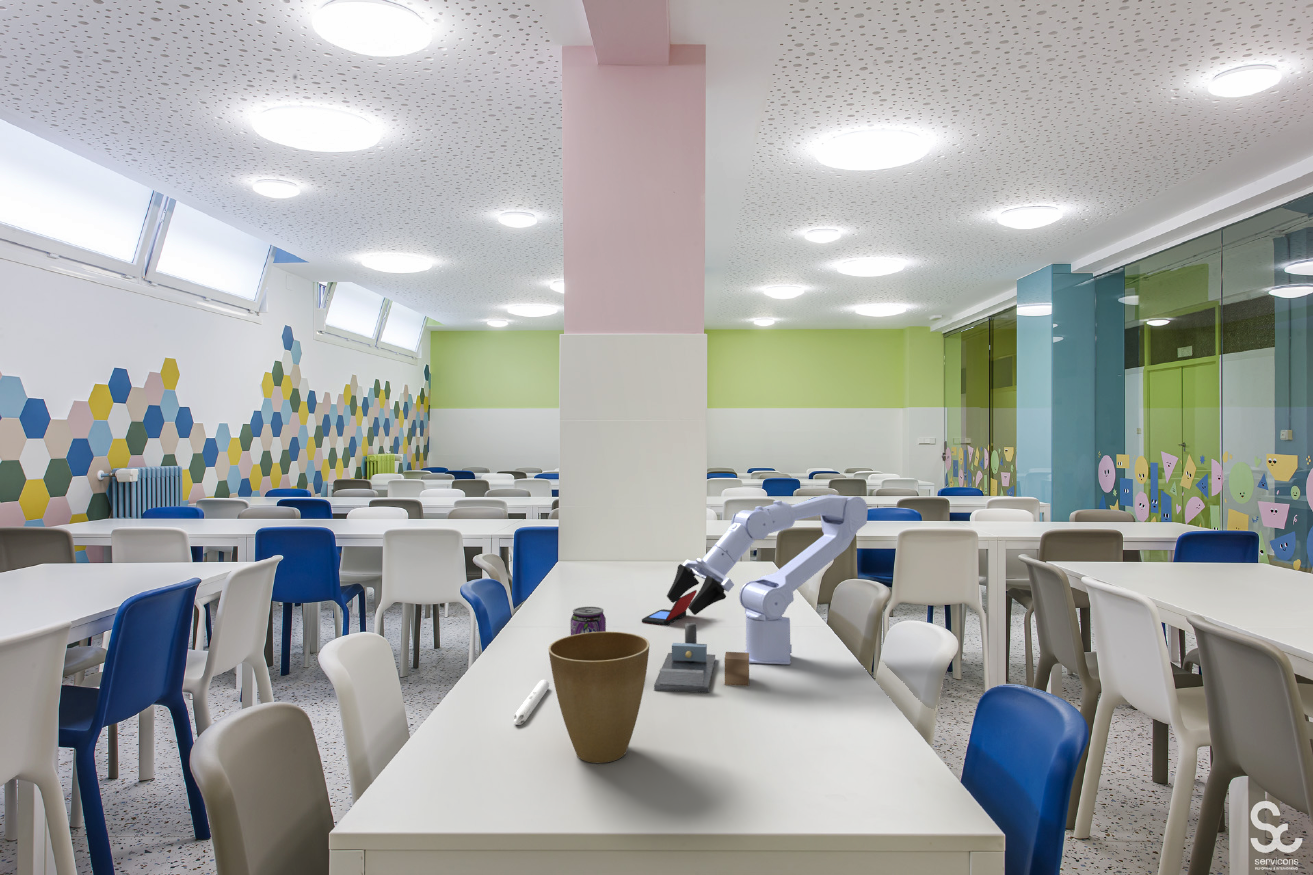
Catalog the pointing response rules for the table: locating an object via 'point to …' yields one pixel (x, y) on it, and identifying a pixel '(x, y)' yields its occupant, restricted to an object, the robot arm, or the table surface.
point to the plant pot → (599, 690)
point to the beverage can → (588, 620)
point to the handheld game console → (671, 611)
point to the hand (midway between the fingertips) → (680, 605)
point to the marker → (531, 702)
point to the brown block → (737, 668)
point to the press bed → (685, 675)
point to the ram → (689, 647)
